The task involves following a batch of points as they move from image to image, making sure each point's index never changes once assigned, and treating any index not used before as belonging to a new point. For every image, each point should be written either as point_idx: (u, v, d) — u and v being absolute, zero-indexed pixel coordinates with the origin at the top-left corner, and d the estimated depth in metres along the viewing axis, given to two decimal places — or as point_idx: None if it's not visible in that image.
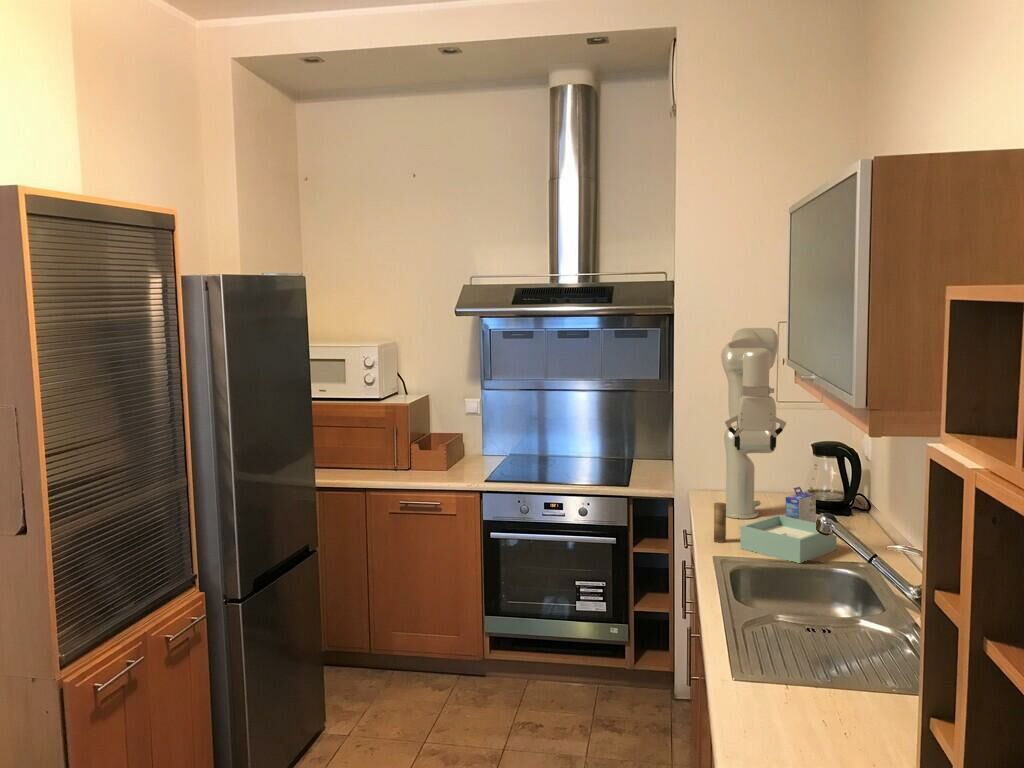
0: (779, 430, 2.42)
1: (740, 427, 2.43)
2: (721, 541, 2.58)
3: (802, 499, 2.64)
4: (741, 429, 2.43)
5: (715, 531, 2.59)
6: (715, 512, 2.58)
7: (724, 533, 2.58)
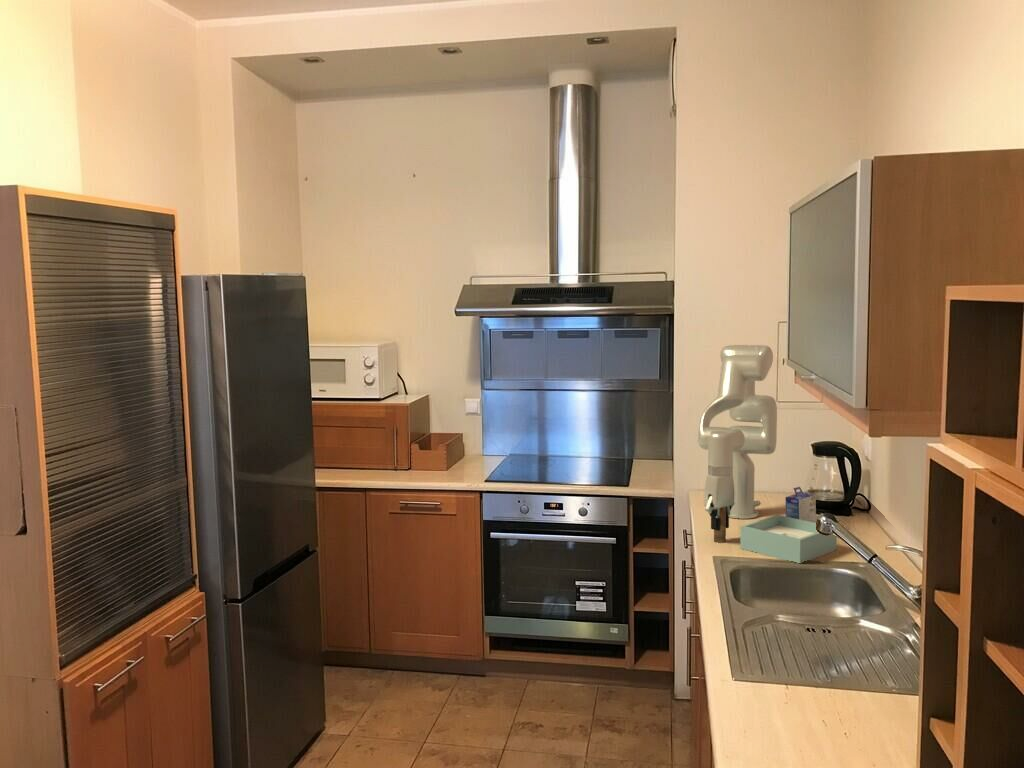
0: (730, 508, 2.61)
1: (716, 506, 2.55)
2: (721, 541, 2.58)
3: (802, 499, 2.64)
4: (716, 508, 2.55)
5: (715, 531, 2.59)
6: None
7: (724, 533, 2.58)
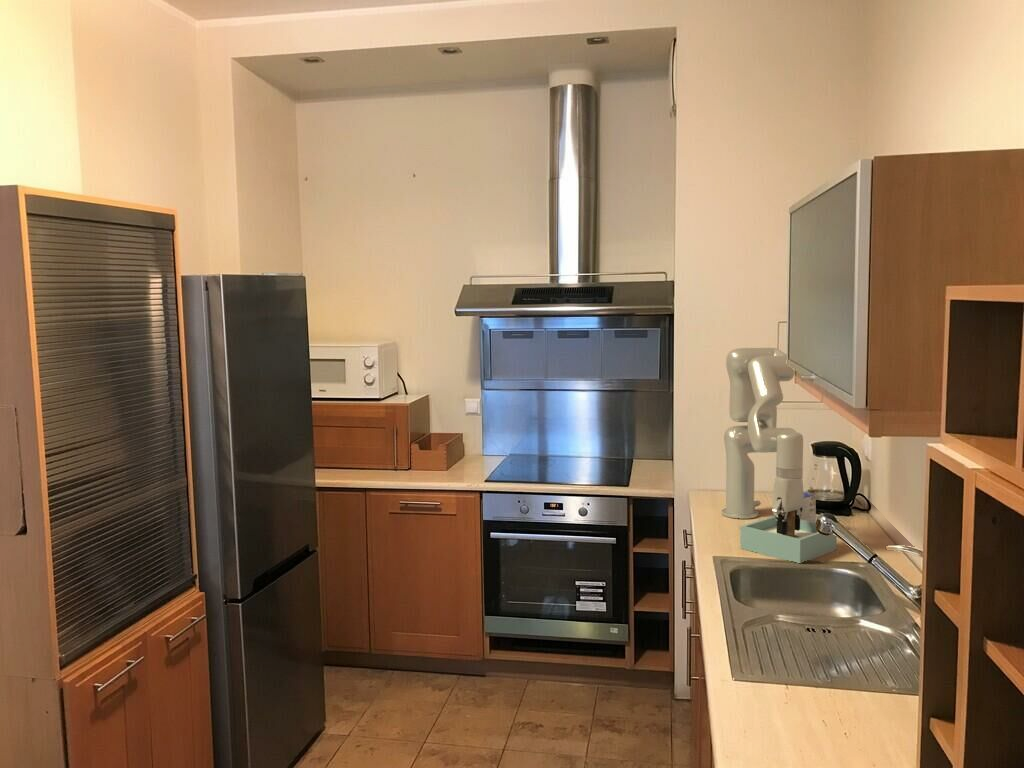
0: (801, 509, 2.52)
1: (786, 510, 2.45)
2: None
3: None
4: (786, 512, 2.45)
5: None
6: None
7: None
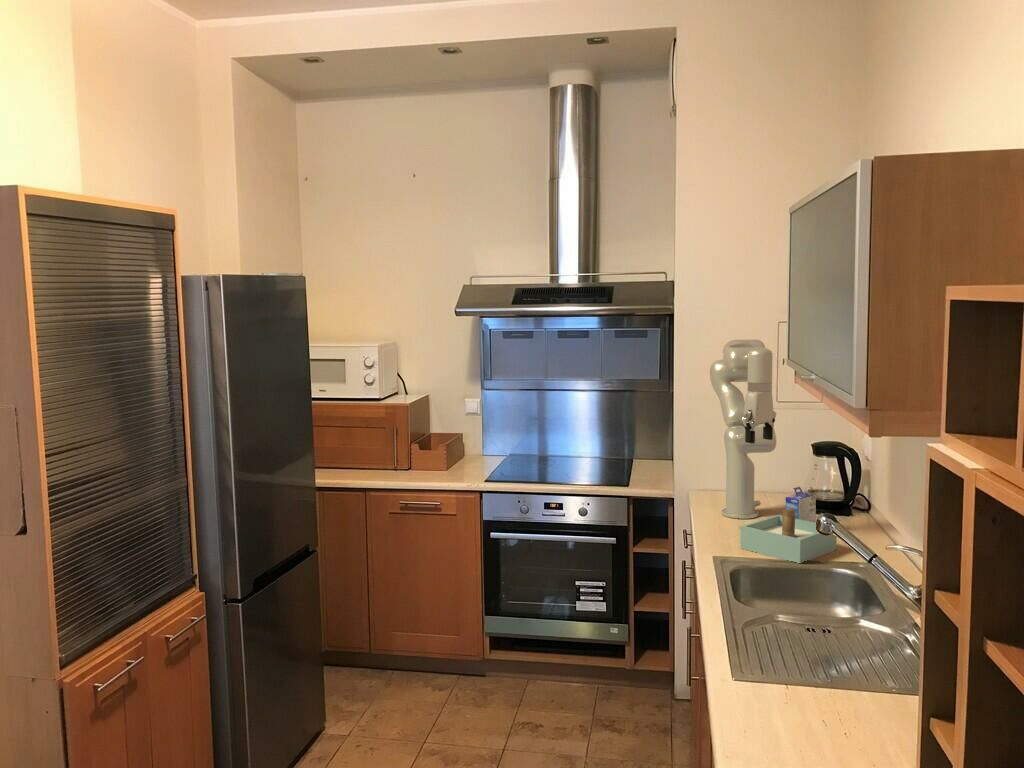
0: (773, 420, 2.68)
1: (756, 421, 2.60)
2: None
3: (802, 499, 2.64)
4: (756, 423, 2.60)
5: None
6: (784, 519, 2.49)
7: None
